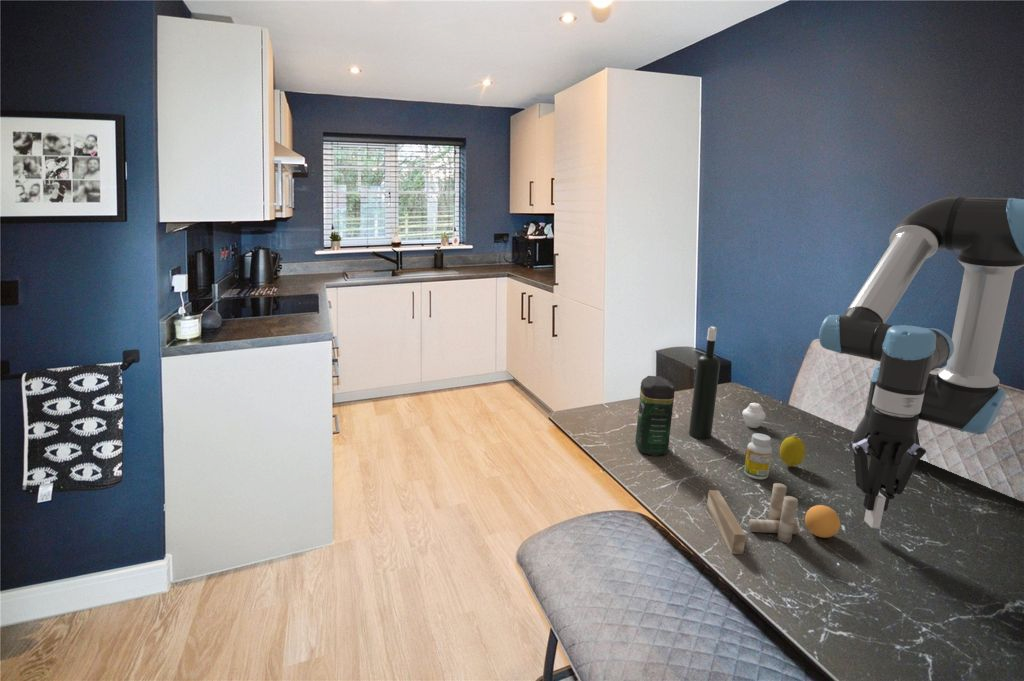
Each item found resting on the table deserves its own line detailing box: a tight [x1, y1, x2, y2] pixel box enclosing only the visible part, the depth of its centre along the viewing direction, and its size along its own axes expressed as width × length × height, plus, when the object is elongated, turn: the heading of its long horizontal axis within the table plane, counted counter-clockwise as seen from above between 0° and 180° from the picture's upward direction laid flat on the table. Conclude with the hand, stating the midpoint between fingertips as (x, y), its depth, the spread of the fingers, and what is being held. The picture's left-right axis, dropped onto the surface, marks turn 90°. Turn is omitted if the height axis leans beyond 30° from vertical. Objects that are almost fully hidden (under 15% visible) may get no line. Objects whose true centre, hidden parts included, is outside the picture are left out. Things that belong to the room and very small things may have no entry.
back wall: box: [706, 489, 747, 555], centre depth 114 cm, size 2×16×4 cm, turn 178°
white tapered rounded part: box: [741, 402, 767, 429], centre depth 165 cm, size 6×6×7 cm
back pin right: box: [767, 482, 788, 520], centre depth 116 cm, size 2×2×8 cm
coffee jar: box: [634, 375, 676, 456], centre depth 147 cm, size 10×8×19 cm
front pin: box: [748, 518, 799, 535], centre depth 114 cm, size 2×2×8 cm
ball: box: [804, 504, 841, 539], centre depth 113 cm, size 6×6×6 cm
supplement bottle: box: [743, 432, 773, 480], centre depth 136 cm, size 5×5×10 cm
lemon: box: [779, 435, 806, 467], centre depth 141 cm, size 6×6×8 cm
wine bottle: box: [688, 325, 721, 440], centre depth 155 cm, size 6×6×30 cm
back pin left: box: [776, 495, 799, 544], centre depth 111 cm, size 2×2×8 cm
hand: (871, 524), depth 114 cm, fingers closed
